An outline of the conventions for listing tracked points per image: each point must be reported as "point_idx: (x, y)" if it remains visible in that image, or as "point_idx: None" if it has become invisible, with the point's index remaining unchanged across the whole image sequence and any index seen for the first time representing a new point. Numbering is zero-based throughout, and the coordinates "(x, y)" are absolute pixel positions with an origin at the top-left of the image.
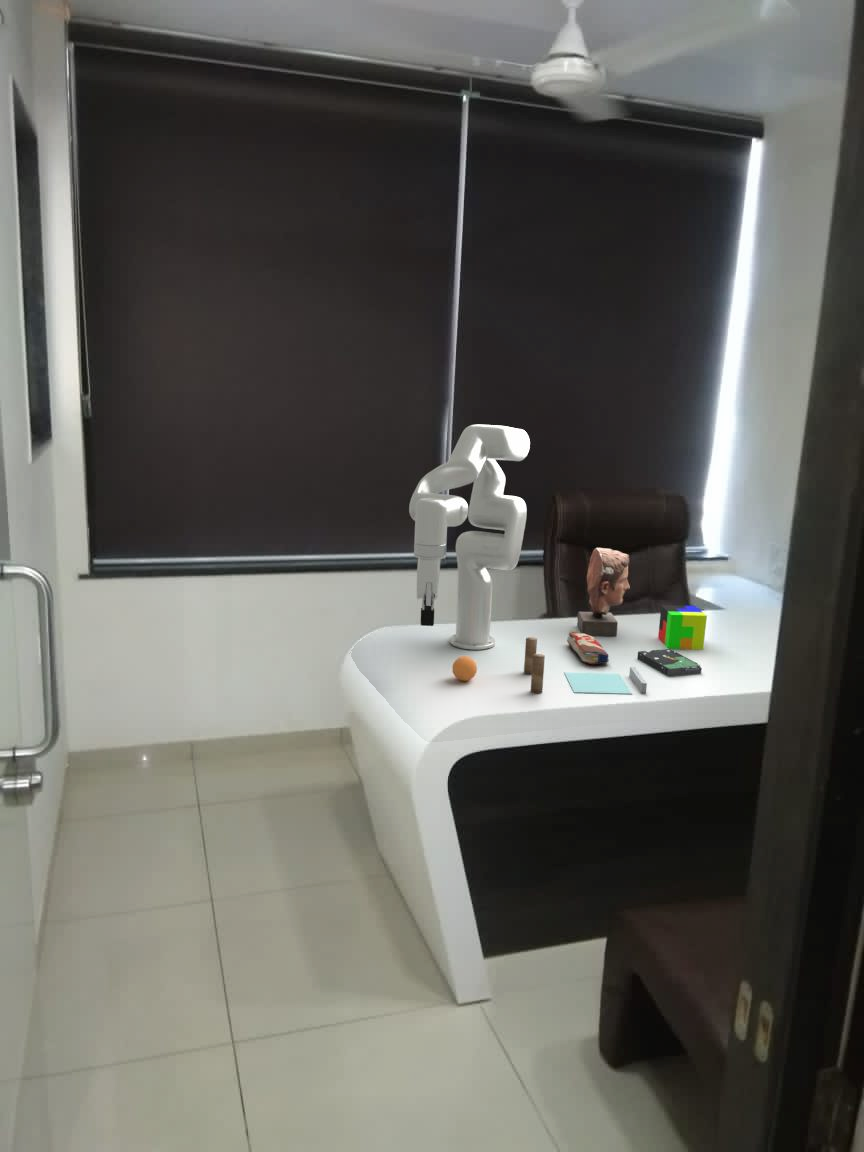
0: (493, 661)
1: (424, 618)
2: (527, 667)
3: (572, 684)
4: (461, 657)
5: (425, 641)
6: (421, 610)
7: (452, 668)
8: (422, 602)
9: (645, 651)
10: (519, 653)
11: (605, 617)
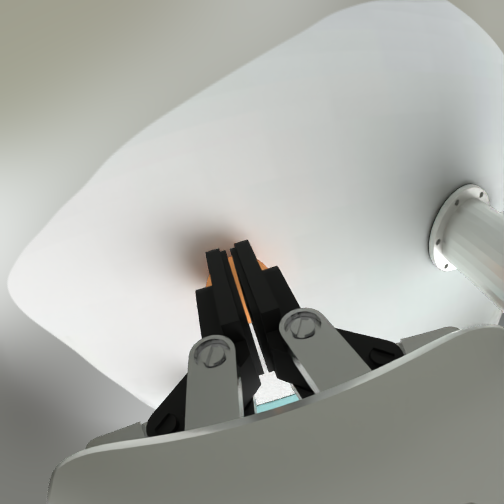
0: (369, 289)
1: (197, 307)
2: None
3: (263, 406)
4: (244, 303)
5: (470, 131)
6: (220, 322)
7: (230, 262)
8: (193, 407)
9: None
10: (407, 312)
11: None
